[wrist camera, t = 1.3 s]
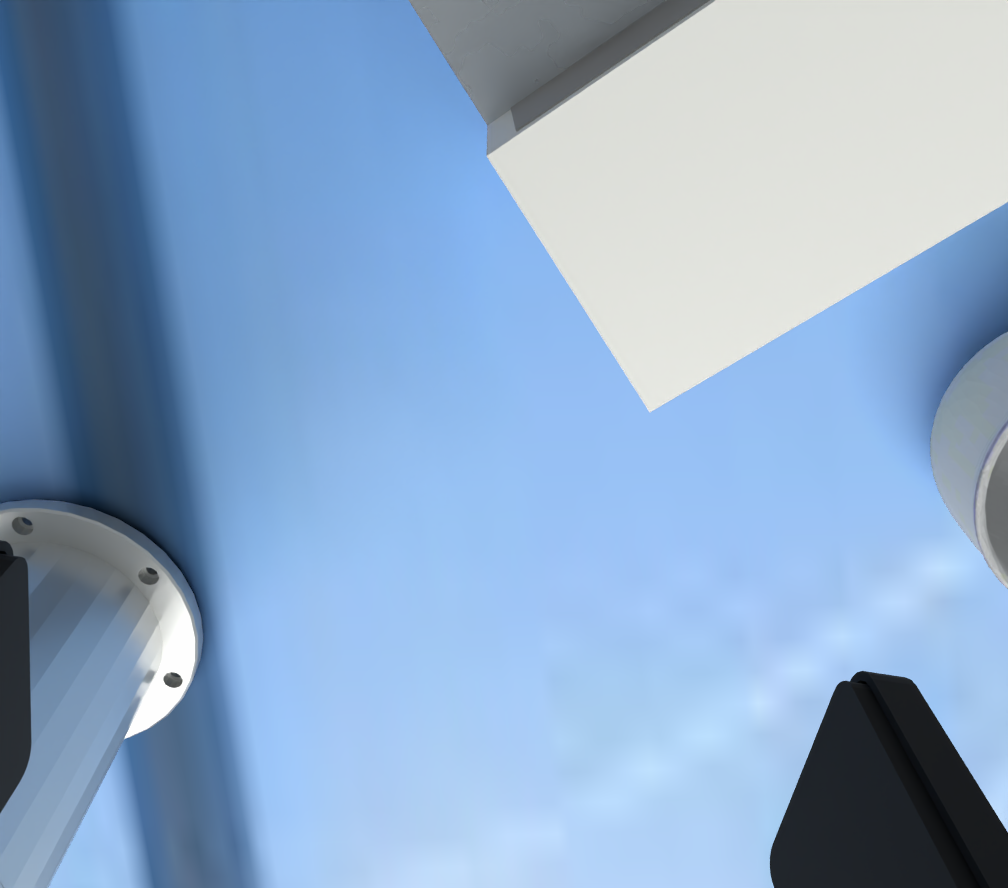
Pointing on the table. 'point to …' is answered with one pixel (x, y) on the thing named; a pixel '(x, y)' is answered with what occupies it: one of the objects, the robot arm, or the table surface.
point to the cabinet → (755, 166)
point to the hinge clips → (520, 41)
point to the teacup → (976, 452)
